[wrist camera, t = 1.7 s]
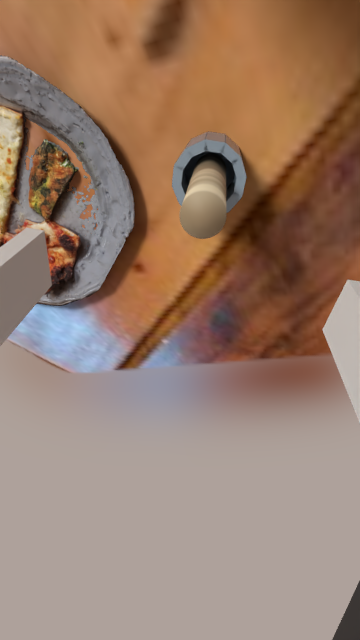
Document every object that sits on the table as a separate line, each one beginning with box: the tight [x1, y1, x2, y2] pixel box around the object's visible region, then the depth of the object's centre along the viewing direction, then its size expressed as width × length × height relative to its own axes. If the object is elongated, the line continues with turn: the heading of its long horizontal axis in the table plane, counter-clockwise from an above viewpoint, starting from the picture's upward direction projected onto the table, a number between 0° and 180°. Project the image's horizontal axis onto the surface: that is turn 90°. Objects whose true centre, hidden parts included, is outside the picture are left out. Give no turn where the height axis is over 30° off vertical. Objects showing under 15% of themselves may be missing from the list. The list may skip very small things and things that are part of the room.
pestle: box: [180, 153, 226, 239], centre depth 26 cm, size 3×3×13 cm
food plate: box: [0, 55, 135, 306], centre depth 35 cm, size 25×23×4 cm
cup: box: [172, 132, 247, 213], centre depth 30 cm, size 6×6×5 cm
